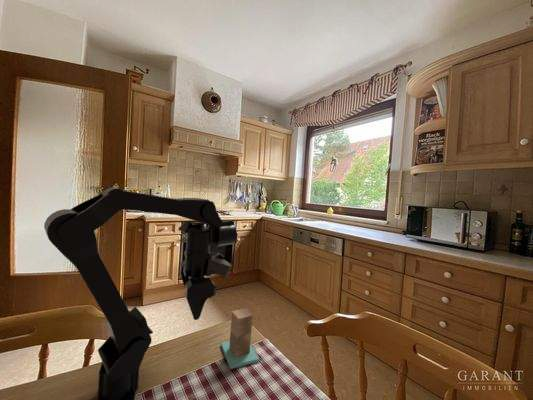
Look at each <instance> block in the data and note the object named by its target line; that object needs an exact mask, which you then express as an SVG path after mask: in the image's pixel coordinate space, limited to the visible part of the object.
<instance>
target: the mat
mask: <svg viewBox="0 0 533 400" xmlns="http://www.w3.org/2000/svg"><path fill="white" fill-rule="evenodd" d="M220 346H221V349H222V351H223V354H224V357H225V360H226V362H227V365H228V367H229V369H230V370H232V369H233V370H234V369H236V368H240V367H243V366H248V365H250V364H255V363H259V362H260V357H259V356H258V354H257V352H256V350H255V349H254V346H253V345H252V342H250V353H248V354H245V355H242V356H239V357H235V356H234V354H233V353H232V351H231V350H230V348H229V347H230V340H228V341H223V342H221V344H220Z"/></svg>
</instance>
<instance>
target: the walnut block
mask: <svg viewBox="0 0 533 400" xmlns="http://www.w3.org/2000/svg"><path fill="white" fill-rule="evenodd" d="M253 316H254V315H253V314H252V313H251V312H250V311H249V310H248V309H247V308H246V307H244V308H241V309H240V308H239V309H237V310H232V311H231V319H230V320H231V323H230V336H229V341H230V347H229V348H230V350H231V351H232V353H233V354H234V356H235V357H239V356H242V355H245V354H248V353H250V343H252V341H251V340H252V327H253Z"/></svg>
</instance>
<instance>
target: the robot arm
mask: <svg viewBox="0 0 533 400" xmlns="http://www.w3.org/2000/svg"><path fill="white" fill-rule="evenodd" d="M122 210H126V211H127V210H128V211H134V212H137V211H138V212H145V213H154V214H161V215H162V214H163V215H171V216H172V215H174V216H179V217H182V218H184V219H187V220H192V221H194V222H199V223H192V222H191V221H187V220H185V222H184V223H183V224H182V225H180V226H179V227H178V231H180V232H183V233H185V234H186V241H185V242H186V243H185V250H184V258H185V259H184V260H183V261H182V262H180V264H179V273H180V277H181V281H182V282H183V283H182V284H183V286H184V288H185V291H184V292H185V293H184V294H185V298H186V299H185V300H186V301H187V303H188V307H189V309H190V311H191V314H192V318H193V320H194V321H195V320H199V319H200V317H201V314H202V312H203V308H204V306H205V303H206V302H207V300H208V299H209V298H211V299H212V298H213V297H215V296H216V293H217V285H216V284H215V282H214V280H213V279H211V278H210V277H211V276H212V274H214V275H218V276H221V277H222V278H227V277H228V275H229V273H230V271H231V268H232V264H231V263H230V262H228V261H227V260H226V259H224V255H223V254H221V253H219V252H216V253H215V254H214V255H212V254H211V253H210V251H211V250H210V248H211V245H212V247H221V246H228V245H234V244H235V243H236V242H237V239H238V234H239V233H238V232H237V229H236V227H235V224H234V220H231V219H224V220H222V219H221V217H220V215H219V213H218V212H217V207H216V204H215V203H214V201H213V200H210V199H204V198H200V197H181V198H171V197H167V196H159V195H152V194H148V193H141V192H137V191H136V192H135V191H129V190H125V189H123V188H119V187H109V188H106V189H105V190H103V191H102V192H101V193H99V194H97V195H95V196H93V197H91V198H89V199H87V200H84V201H83V202H81V203H79V204H77V205H75V206H73V207H71V208H70V209H69V208H68V209H67V208H66V209H65V208H64V209H59V210H56V211H54V212H52V213H51V214H50V215H49V216H48V217H47V218H46V220H45V222H44V223H43V224H44V225H43V228H44V230H45V234H46V236H47V239H48V240H49V242H50V243H51V244H52V245H53V246H54V247H55V248H56V249H57V250H58V251H59V253H61V254H62V255H63V256H64V257H65V258H66V259H67V260H68V261H69V262H70V263H72V265H74V267H75V268H76V269H77V271H78V273H79V274H80V276H81V278H82V280H83V282H84V283H85V285H86V286H87V288H88V290H89V291H90V293H91V294H92V297H93V298H94V300H95V302H96V303H97V305H98V306H99V308H100V311H102V314H103V315H104V317H105V319H106V323H107V329H108V332H109V336H108V338H107V339H106V340H105V341H104V342H103V343H102V345H101V346H100V347H99V348H98V349H97V353H98V355H99V357H100V360H101V365H100V368H99V372H98V382H97V383H98V385H97V387H98V388H97V398H96V400H135V398H136V391H138V389H139V382H140V371H141V370H140V368H141V364H142V362H143V359H144V357H145V354H146V352H147V351H148V350H149V348H150V345H151V344H152V341H153V339H152V336H151V334H153V333H154V331H153V330H152V329H151V327H150V326H149V325H148V321H147V318H146V317H145V316H144V314H143V313H142V312H141V311H140V310H139V309H138V308H137V306H134V307H133V308H132V309H131V310H129V309H128V307H127V305H126V303H125V301H124V299H123V298H122V295H121V294H120V291H119V289H118V288H117V286H116V284H115V282H114V280H113V279H112V277H111V275H110V273H109V271H108V270H107V268H106V266H105V264H104V262H103V260H102V258H101V256H100V253H99V246H98V240H97V237H96V233H95V231H96V230H98V229H99V228H101V227H102V226H104V225H105V224H107V222H108V221H109V220H111V218H113V217H114V216H115V215H117V213H118V212H120V211H122ZM204 224H205V225H208V226H205V225H204Z"/></svg>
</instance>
